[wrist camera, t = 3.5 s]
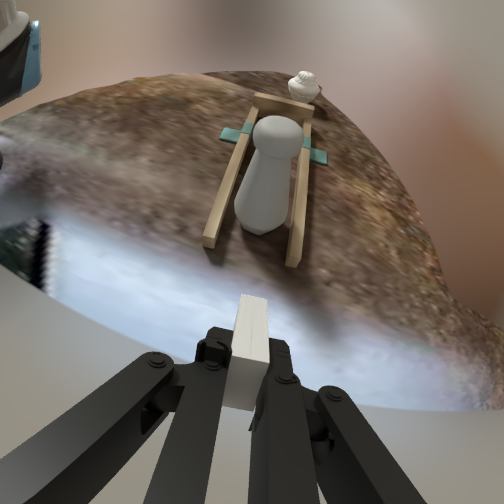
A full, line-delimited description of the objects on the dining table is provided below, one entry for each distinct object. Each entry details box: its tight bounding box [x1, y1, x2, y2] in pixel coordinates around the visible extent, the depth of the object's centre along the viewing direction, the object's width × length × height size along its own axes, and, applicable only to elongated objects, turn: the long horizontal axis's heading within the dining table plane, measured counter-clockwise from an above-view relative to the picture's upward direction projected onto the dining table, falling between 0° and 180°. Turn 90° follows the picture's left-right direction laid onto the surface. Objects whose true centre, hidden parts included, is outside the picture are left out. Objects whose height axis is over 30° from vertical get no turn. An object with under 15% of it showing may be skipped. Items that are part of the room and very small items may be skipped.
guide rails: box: [203, 92, 327, 268], centre depth 35 cm, size 16×29×4 cm, turn 170°
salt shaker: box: [234, 116, 305, 235], centre depth 27 cm, size 6×6×13 cm
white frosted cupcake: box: [288, 71, 319, 104], centre depth 47 cm, size 6×6×7 cm
